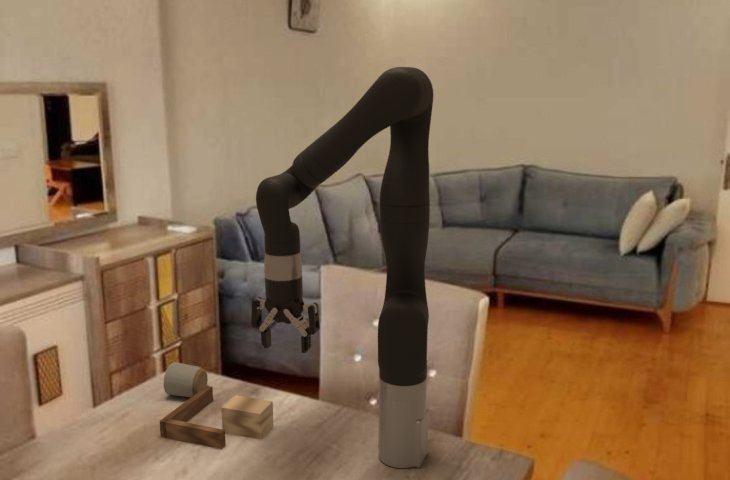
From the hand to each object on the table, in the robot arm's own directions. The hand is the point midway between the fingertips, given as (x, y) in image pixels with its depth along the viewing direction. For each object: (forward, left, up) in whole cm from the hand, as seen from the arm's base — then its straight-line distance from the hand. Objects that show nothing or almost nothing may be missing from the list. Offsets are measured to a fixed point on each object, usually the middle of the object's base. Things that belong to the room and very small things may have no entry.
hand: (286, 349), depth 143 cm
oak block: (+9, +2, -19) cm, 21 cm away
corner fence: (+17, +2, -19) cm, 25 cm away
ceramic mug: (+31, -9, -19) cm, 37 cm away
